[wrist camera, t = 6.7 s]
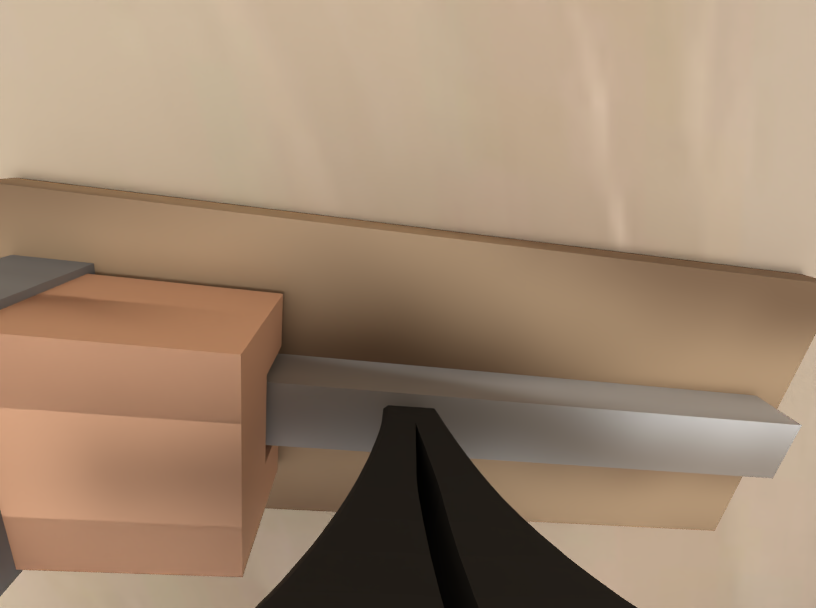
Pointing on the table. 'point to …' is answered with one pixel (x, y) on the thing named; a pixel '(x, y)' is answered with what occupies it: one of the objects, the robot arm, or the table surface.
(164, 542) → the slider block
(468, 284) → the rail board
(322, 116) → the table surface
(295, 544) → the table surface
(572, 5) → the table surface
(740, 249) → the table surface
